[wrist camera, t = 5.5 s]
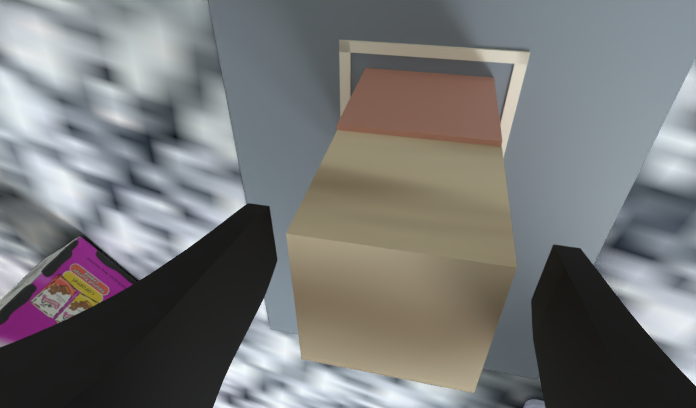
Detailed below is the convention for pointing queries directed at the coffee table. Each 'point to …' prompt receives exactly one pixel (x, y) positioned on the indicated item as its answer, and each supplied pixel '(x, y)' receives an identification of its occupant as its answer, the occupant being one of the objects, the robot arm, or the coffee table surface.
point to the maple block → (403, 257)
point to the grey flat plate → (512, 97)
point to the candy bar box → (59, 290)
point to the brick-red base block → (424, 106)
